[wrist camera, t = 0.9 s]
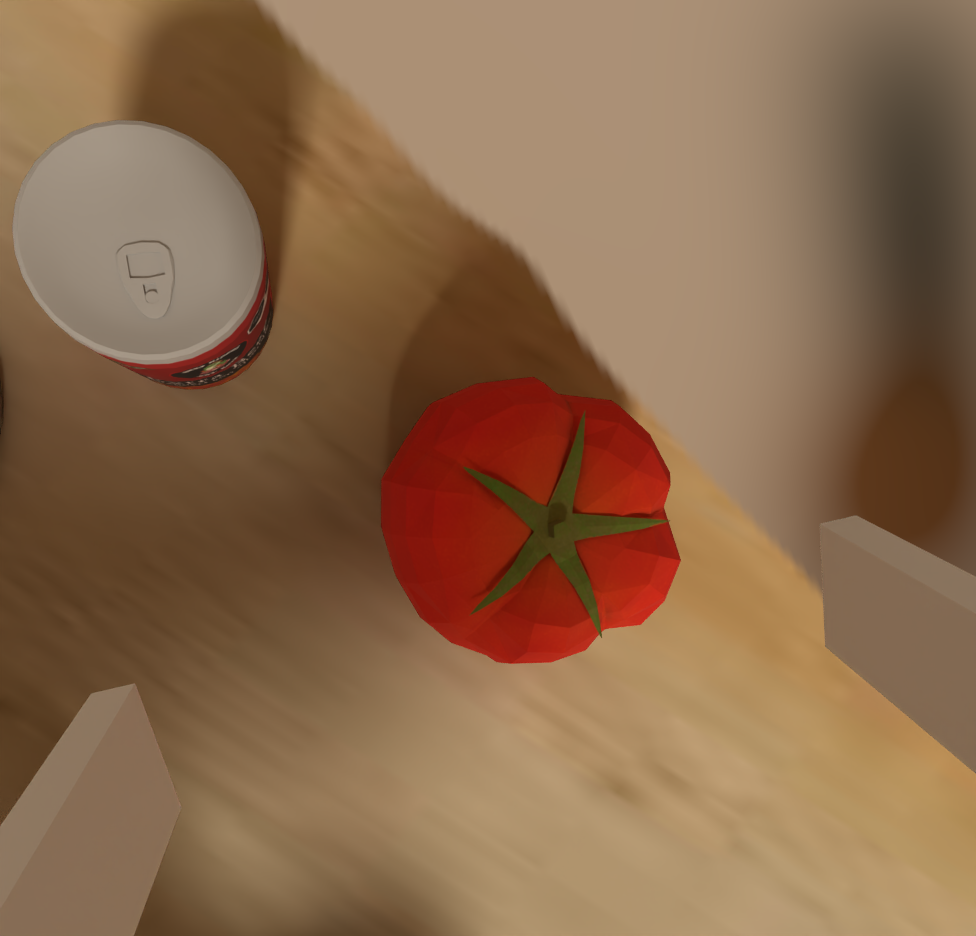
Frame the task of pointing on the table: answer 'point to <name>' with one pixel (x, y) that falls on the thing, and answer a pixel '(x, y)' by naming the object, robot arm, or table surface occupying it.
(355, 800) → the table surface
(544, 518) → the tomato
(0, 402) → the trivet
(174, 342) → the canned food
